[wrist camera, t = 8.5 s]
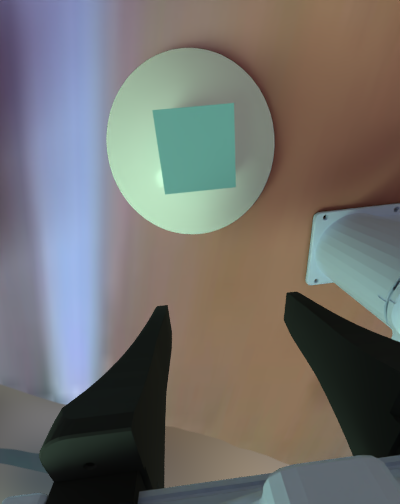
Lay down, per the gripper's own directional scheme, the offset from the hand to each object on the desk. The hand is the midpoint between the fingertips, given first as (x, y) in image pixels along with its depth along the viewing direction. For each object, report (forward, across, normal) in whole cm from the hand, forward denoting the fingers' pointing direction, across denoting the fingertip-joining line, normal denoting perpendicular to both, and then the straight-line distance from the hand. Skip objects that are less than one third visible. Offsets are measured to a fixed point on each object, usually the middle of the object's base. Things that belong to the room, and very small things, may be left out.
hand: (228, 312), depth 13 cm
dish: (+9, +1, -9) cm, 13 cm away
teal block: (+8, +1, -9) cm, 12 cm away
